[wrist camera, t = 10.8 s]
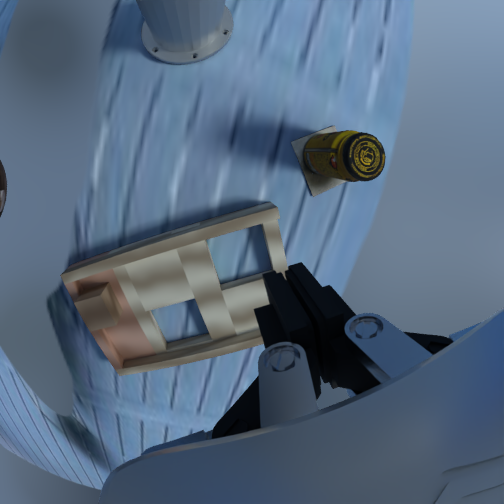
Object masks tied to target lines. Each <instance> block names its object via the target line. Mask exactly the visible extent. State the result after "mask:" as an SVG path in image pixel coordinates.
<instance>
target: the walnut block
mask: <svg viewBox="0 0 504 504" xmlns="http://www.w3.org/2000/svg"><path fill="white" fill-rule="evenodd" d="M74 304H75V306H76V308H77V310H78V312H79V314H80V315H81V317H82V319H83V321H84V322H85V324H86V326H87V328H88V329H89V331H94V330H99V329H103V328H107V327H112V326H116V325H117V323H118V321H119V319H120V316H121V314H122V312H123V309H122V307H121V305H120V303H119V301H118V299H117V297H116V295H115V293H114V291H113V289H112V287H111V285H110V283H109V282H108V283H105V284H101V285H98V286H95V287H92V288H88V289H85V290H83V291H82V293H81V294H80V295H79V297H78V298H77V299H76V301H75V302H74Z"/></svg>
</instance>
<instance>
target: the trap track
mask: <svg viewBox="0 0 504 504" xmlns="http://www.w3.org/2000/svg"><path fill="white" fill-rule="evenodd" d="M277 219H280V216H279V212H278V207H277V206H275V205H274V204H273V203H271V202H268V203H264V204H261V205H257V206H253V207H250V208H246V209H242V210H239V211H235V212H232V213H228V214H225V215H221V216H218V217H214V218H211V219H207V220H204V221H201V222H197V223H194V224H191V225H188V226H184V227H181V228H178V229H175V230H171V231H168V232H165V233H162V234H159V235H156V236H153V237H149V238H146V239H143V240H140V241H137V242H134V243H131V244H128V245H125V246H122V247H120V248H117V249H114V250H111V251H108V252H105V253H102V254H99V255H97V256H94V257H91V258H88V259H85V260H83V261H80V262H77V263H75V264H72V265H70V266H69V267H68V268H67V269H66V270H65V271H64V272H63V273H62V274H61V275H60V276H61V278H62V280H63V282H64V284H65V286H66V288H67V290H68V292H69V294H70V296H71V298H72V300H73V302H75V301H76V299H77V298H78V297H79V295H80V294H81V293H82V291H83V290H85V289H88V288H92V287H95V286H98V285H101V284H105V283H108V282H109V283H110V285H111V287H112V289H113V291H114V293H115V295H116V297H117V299H118V301H119V303H120V305H121V307H122V309H123V312H122V314H121V316H120V319H119V321H118V323H117V325H116V326H112V327H107V328H103V329H99V330H94V331H90V332H91V334H92V335H93V337H94V338H95V340H96V342H97V343H98V345H99V346H100V348H101V350H102V351H103V353H104V354H105V356H106V357H107V359H108V360H109V362H110V363H111V364H112V366H113V367H114V369H115V370H116V372H117V373H118V374H119V376H122V375H129V374H135V373H141V372H146V371H152V370H157V369H163V368H168V367H173V366H178V365H182V364H187V363H191V362H196V361H200V360H204V359H209V358H213V357H217V356H221V355H225V354H229V353H232V352H236V351H240V350H243V349H247V348H251V347H254V346H258V345H261V344H264V342H263V339H262V336H261V333H260V329H259V326H258V323H257V319H256V316H255V313H254V309H255V308H258V307H262V306H265V305H268V304H269V300H268V296H267V292H266V288H265V284H264V280H263V276H262V274H264V273H267V272H271V271H274V270H275V271H276V272H277V273H279V272H281V273H282V274H283V276H284V277H285V271H286V270H288V267H287V262H286V257H285V253H284V248H283V243H282V239H281V234H280V230H279V225H278V221H277ZM259 224H261V226H262V230H263V234H264V238H265V242H266V246H267V250H268V255H269V259H270V263H271V267H272V270H269V271H266V272H262V273H259V274H255V275H252V276H249V277H245V278H242V279H238V280H235V281H231V282H228V283H224V284H220V281H219V278H218V275H217V272H216V269H215V266H214V263H213V260H212V257H211V254H210V251H209V248H208V245H207V242H206V240H207V239H210V238H213V237H217V236H220V235H224V234H227V233H231V232H234V231H238V230H241V229H245V228H248V227H252V226H255V225H259ZM285 279H286V277H285ZM194 298H195V300H196V302H197V305H198V307H199V310H200V312H201V315H202V317H203V319H204V322H205V324H206V327H207V329H208V331H209V333H207V334H203V335H199V336H195V337H191V338H187V339H183V340H178V341H174V342H170V343H167V341H166V340H165V338H164V336H163V334H162V332H161V330H160V328H159V326H158V324H157V322H156V320H155V318H154V316H153V314H152V312H151V310H153V309H157V308H161V307H164V306H168V305H172V304H176V303H179V302H183V301H187V300H190V299H194Z"/></svg>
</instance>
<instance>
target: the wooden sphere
mask: <svg viewBox="0 0 504 504" xmlns="http://www.w3.org/2000/svg"><path fill="white" fill-rule="evenodd" d="M6 194H7V181H6V174H5V170H4V167H3V165H2V162H1V160H0V217H1V214H2V212H3V209H4V205H5V201H6Z"/></svg>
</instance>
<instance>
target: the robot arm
mask: <svg viewBox="0 0 504 504" xmlns="http://www.w3.org/2000/svg"><path fill="white" fill-rule="evenodd" d="M136 2H137V4H138V6H139V8H140V10H141V13H142V15H143V17H144V19H145V21H144V23H143V25H142V30H141V38H142V42H143V45H144V46H145V48H146V50H147V51H148V52H149V53H150V54H151V55H152V56H153V57H155V58H156V59H158V60H160V61H163V62H166V63H170V64H180V65H181V64H191V63H196V62H199V61H202V60H205V59H207V58H209V57H211V56H213V55H214V54H216V53H217V52H218V51H220V50H221V49H222V48H223V47H224V46H225V45H226V43H227V42H228V40H229V38H230V36H231V33H232V29H233V18H232V15H231V12H230V11H229V9H228V8H227V7H226V6H225V0H136ZM224 33H226V35H224ZM155 51H157V52H155ZM194 56H196V58H193V57H194ZM288 269H289V270H286V271H285V277H286V279H285V277H284V276H283V274H282V273H281V272H279V273H277V272H276V271H275V270H274V271H271V272H267V273H264V274H262V276H263V280H264V284H265V288H266V292H267V296H268V300H269V304H268V305H265V306H262V307H258V308H255V309H254V313H255V316H256V319H257V323H258V326H259V329H260V333H261V336H262V339H263V342H264V346H265V350H264V351H263V352H262V353H261V355H260V357H259V360H258V372H259V376H258V377H257V378H256V379H255V380H254V382H253V383H252V384H251V385H250V386H249V387H248V389H247V390H246V391H245V392H244V393H243V394H242V396H241V397H240V398H239V399H238V400H237V401H236V402H235V404H234V405H233V406H232V407H231V408H230V409H229V410H228V411H227V412H226V414H225V415H224V416H223V417H222V418H221V419H220V420H219V421H218V422H217V424H216V425H215V427H214V428H213V430H211V431H208V432H205V431H204V430H202V431H199V432H196V433H193V434H191V435H188V436H185V437H182V438H179V439H176V440H173V441H169V442H166V443H163V444H159V445H156V446H153V447H150V448H148V449H146V450H145V451H144V452H143V453H142V454H141V456H139V457H137V458H135V459H132V460H129V461H127V462H126V463H124V464H122V465H120V466H119V467H117V468H116V469H114V470H113V471H112V472H111V473H110V474H109V476H108V477H107V479H106V481H105V483H104V485H103V488H102V490H101V494H100V498H99V502H98V504H504V308H502V309H501V310H499V311H497V312H496V313H495V314H493V315H492V316H490V317H489V318H487V319H486V320H484V321H483V322H480V323H478V324H476V325H474V326H471V327H469V328H466V329H464V330H461V331H459V332H456V333H453V334H451V335H449V338H447V337H444V336H437V335H427V334H417V333H409V332H402V331H401V330H399V329H398V328H397V327H395V326H394V325H393V324H391V323H390V322H389V321H387V320H386V319H385V318H383V317H382V316H380V315H378V314H374V313H363V314H359V315H356V314H355V313H354V312H353V311H352V310H351V309H350V308H349V306H348V305H347V304H346V303H345V302H344V300H343V299H342V298H341V297H340V296H339V295H338V294H337V292H336V291H335V290H334V289H333V288H332V287H331V286H330V285H328V286H325V287H322V286H321V285H320V284H319V283H318V281H317V280H316V279H315V278H314V277H313V275H312V274H311V273H310V272H309V270H308V269H307V268H306V267H305V266H304V265H303V263H302V262H300V263H297V264H294V265H290V266H288ZM320 376H321V378H322V380H323V382H324V383H328V382H329V383H330V385H331V387H332V388H333V389H334V388H337V387H342V388H346V391H347V393H348V395H349V397H350V398H349V399H347V400H344V401H342V402H339V403H337V404H334V405H332V406H329V407H326V408H324V409H321V410H319V409H318V405H317V399H318V398H319V396H320V394H321V387H320V385H321V380H320Z"/></svg>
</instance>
